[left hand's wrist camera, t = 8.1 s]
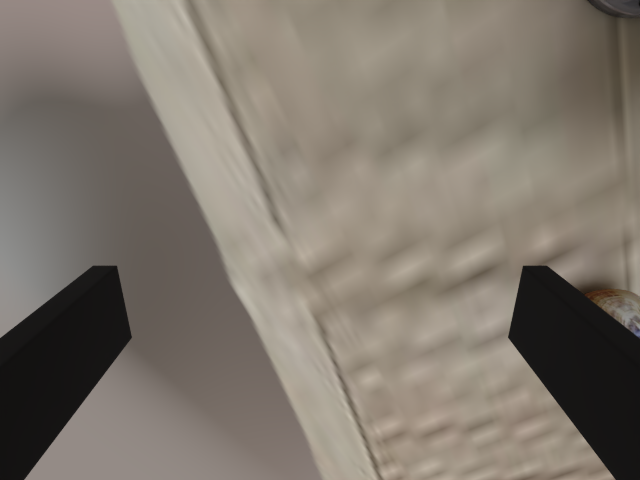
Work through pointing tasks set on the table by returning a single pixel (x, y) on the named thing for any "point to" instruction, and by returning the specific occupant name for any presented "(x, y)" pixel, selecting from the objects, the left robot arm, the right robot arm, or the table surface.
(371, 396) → the table surface
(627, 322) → the seashell
